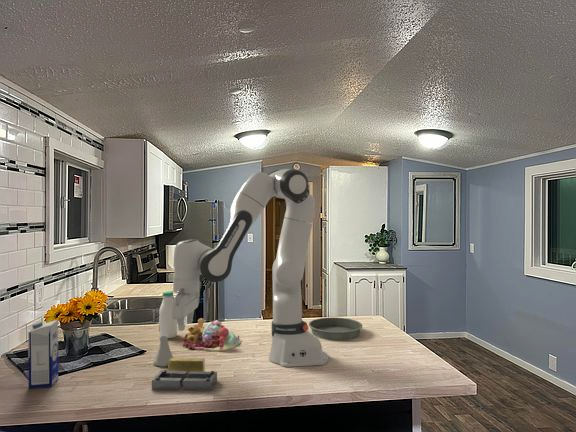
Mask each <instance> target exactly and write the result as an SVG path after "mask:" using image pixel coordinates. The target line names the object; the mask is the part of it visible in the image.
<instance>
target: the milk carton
mask: <svg viewBox="0 0 576 432" xmlns="http://www.w3.org/2000/svg"><path fill="white" fill-rule="evenodd" d="M58 326H59V320H58V319H57V320H52V321H48V322H45V323H43V322H42V321H41V322H38V323H35V324H33V325H32V329H30V330H29V331H27V337H28V338H27V340H28V341H27V346H28V347H27V348H28V349H27V353H28V354H27V355H28V358H27V359H28V363H27V366H28V389H39V388H41V389H42V388H52V387H53V386H54V385H55V383H56V382H57V381H58V379H59V337H58V336H59V330H58V329H59V327H58Z"/></svg>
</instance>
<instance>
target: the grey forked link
mask: <svg viewBox="0 0 576 432" xmlns="http://www.w3.org/2000/svg"><path fill="white" fill-rule="evenodd" d="M217 381H218V372H217V371H215V370H210V371H205V372H198V371H190V372H189V374H188V375H187V378H185V379H184V380H183V387H182V391H190V390H194V391H197V392H199V391H200V392H203V391H204V392H212V391H213V389H214V388H215V385H216V384H217Z"/></svg>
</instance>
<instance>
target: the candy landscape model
mask: <svg viewBox="0 0 576 432" xmlns="http://www.w3.org/2000/svg"><path fill="white" fill-rule="evenodd" d="M204 322H205V319H204V318H202V317H201V318H198V320H197V324H193V325H189V327H188V328H187V331H188V333H186V334H185V335H184V337H183V339H182V342H181V345H182V347H186V346H187V349H189V350H190V349H191V350H203V351H205V352H216V351H217V353H218V351H219V352H225V351H229V350H232V349H234V348H236V347H238V346H239V345H240V344H241V343H242V341H241V339H240V335H237V336H236V334H235V333H234V332H233V331H229V329H228V328H226V327H225V325H223V324H222V322H221V321H219V320H218V319H216V320H213V321H211V320H210V322H209V321H208V323H207V325H205V326H204Z"/></svg>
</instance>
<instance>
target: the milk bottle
mask: <svg viewBox="0 0 576 432" xmlns="http://www.w3.org/2000/svg"><path fill="white" fill-rule="evenodd" d="M173 298H174V292H173V290H172V291H171V290H169V291H163V292H162V303H161V304H160V306H159V313H158V320H159V321H158V334H159V335H158V338H159V337H160V336H169V338H168V339H172V338H176V337H177V336H178V323H177V320H174V319H173V318H172V304H173Z"/></svg>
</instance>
